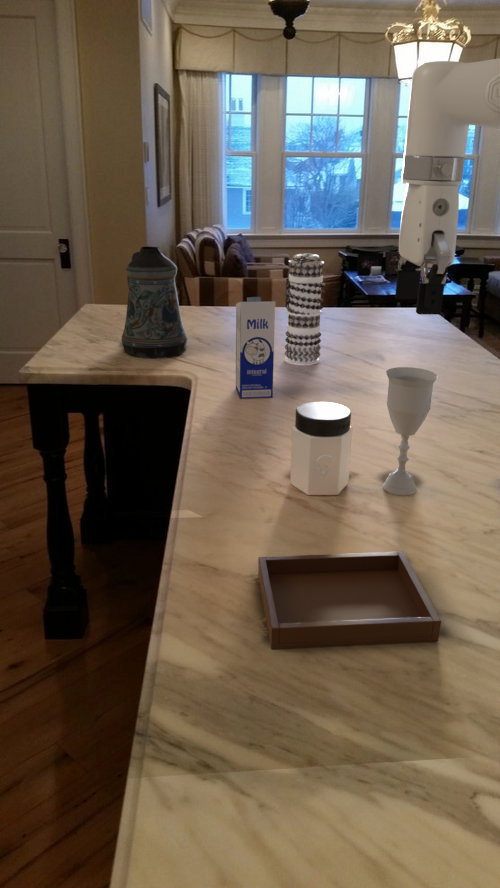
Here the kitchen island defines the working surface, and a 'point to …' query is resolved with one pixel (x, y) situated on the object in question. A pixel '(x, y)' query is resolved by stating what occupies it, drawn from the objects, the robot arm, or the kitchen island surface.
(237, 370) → the milk carton
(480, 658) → the kitchen island surface
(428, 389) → the chalice
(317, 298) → the decorative candle
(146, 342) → the beer stein
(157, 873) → the kitchen island surface
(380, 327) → the kitchen island surface
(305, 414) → the jar
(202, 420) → the kitchen island surface
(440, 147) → the robot arm
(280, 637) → the tray
